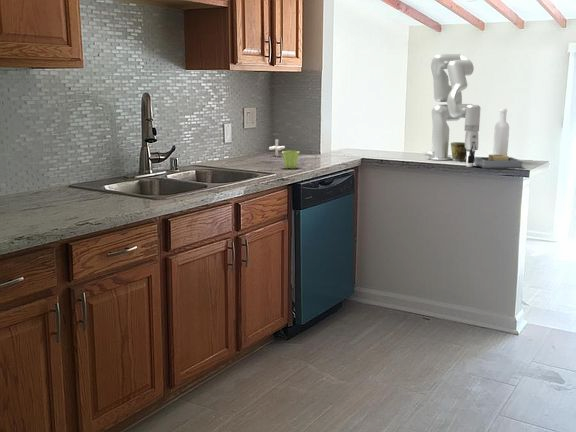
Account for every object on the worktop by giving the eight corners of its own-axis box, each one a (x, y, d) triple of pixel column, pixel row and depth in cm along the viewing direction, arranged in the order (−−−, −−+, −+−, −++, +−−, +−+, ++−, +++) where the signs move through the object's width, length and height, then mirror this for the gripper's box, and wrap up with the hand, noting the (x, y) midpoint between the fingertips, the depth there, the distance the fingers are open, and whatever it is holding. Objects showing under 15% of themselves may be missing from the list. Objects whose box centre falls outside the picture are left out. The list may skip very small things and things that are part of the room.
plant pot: (278, 167, 332) (278, 151, 330) (290, 166, 338) (290, 150, 336) (290, 169, 325) (290, 153, 323) (303, 167, 331) (303, 151, 330)
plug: (467, 166, 335) (468, 150, 333) (465, 165, 338) (466, 149, 337) (473, 166, 335) (474, 150, 333) (471, 165, 339) (472, 149, 337)
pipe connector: (266, 155, 383) (266, 139, 380) (280, 154, 387) (280, 138, 384) (272, 157, 374) (272, 140, 372) (287, 156, 378) (287, 140, 376)
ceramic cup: (452, 158, 367) (453, 141, 365) (469, 160, 362) (470, 142, 360) (446, 161, 356) (447, 144, 354) (463, 162, 351) (464, 144, 349)
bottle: (497, 163, 349) (501, 109, 342) (489, 161, 356) (493, 108, 350) (509, 162, 351) (513, 108, 344) (501, 160, 358) (505, 108, 352)
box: (483, 168, 328) (484, 157, 327) (474, 164, 344) (475, 153, 342) (521, 168, 328) (522, 157, 327) (510, 164, 344) (511, 153, 342)
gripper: (483, 129, 324) (481, 164, 328) (474, 127, 340) (472, 160, 344) (469, 129, 324) (467, 164, 328) (460, 127, 340) (458, 160, 344)
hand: (469, 162), depth 336 cm, fingers closed on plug, 3 cm apart
